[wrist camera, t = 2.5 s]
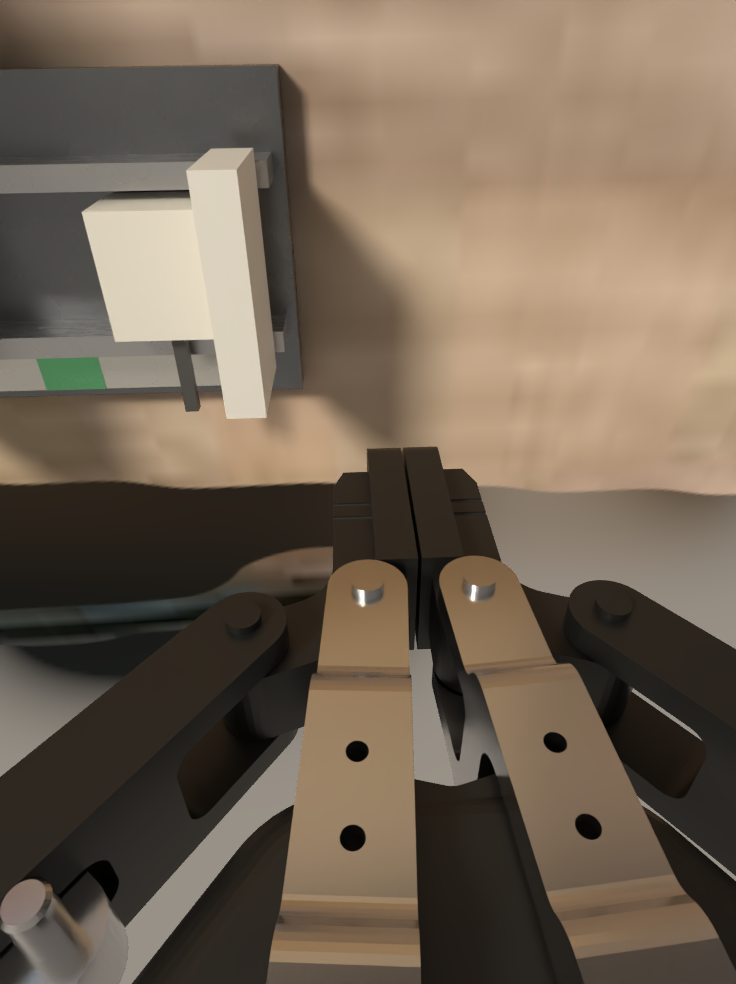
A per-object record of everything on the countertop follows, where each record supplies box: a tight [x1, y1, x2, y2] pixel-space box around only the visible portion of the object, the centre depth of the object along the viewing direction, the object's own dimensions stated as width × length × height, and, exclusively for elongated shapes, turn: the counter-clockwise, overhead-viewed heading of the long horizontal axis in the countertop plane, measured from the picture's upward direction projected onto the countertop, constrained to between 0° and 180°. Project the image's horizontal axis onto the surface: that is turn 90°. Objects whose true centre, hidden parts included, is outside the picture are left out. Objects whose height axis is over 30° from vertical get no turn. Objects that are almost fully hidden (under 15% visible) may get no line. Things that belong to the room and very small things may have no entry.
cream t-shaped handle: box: [82, 148, 276, 419], centre depth 26 cm, size 7×11×7 cm, turn 1°
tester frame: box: [0, 64, 304, 397], centre depth 26 cm, size 21×14×9 cm, turn 91°
